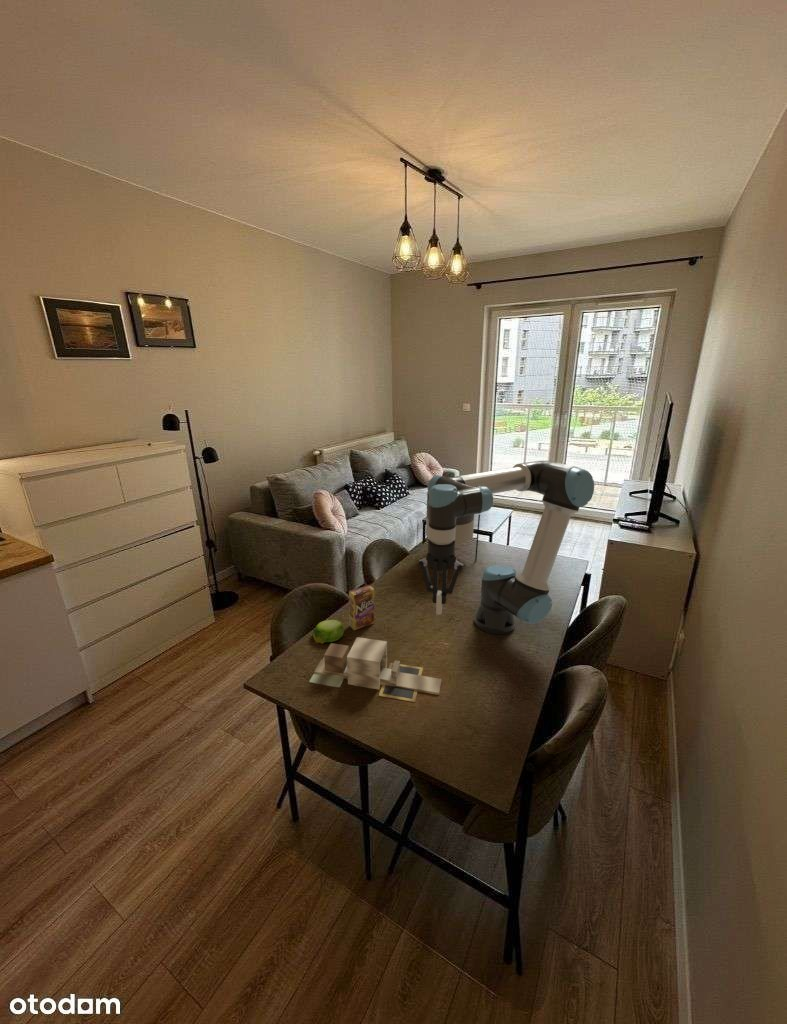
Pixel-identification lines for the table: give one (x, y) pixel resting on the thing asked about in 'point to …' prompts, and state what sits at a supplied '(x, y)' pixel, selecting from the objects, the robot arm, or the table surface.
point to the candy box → (361, 607)
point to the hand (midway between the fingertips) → (439, 612)
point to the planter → (460, 528)
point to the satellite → (377, 673)
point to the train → (338, 664)
